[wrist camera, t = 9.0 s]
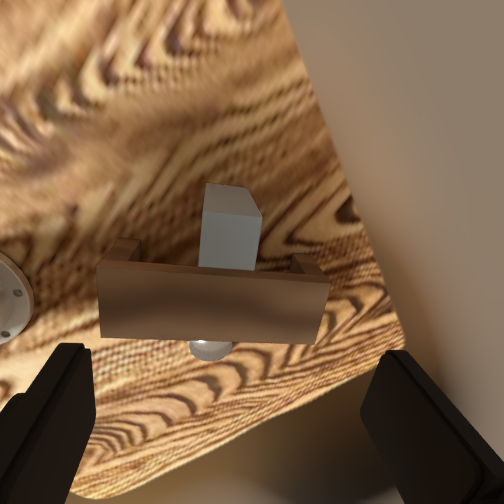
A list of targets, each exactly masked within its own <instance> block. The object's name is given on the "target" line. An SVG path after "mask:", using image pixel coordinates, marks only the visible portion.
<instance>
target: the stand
mask: <svg viewBox="0 0 504 504" xmlns="http://www.w3.org/2000/svg"><path fill="white" fill-rule="evenodd" d="M140 258H141V240H137V239H125V238H119V239H118V241H117V242H116V243H115V244H114V246H113V247H112V248H111V249H110V251H109V252H108V253H107V254H106V256H105V257H104V258H103V259H102V260H101V262H100V263H99V264H98V265H97V267H96V274H97V289H98V304H99V318H100V333H101V338H124V339H155V340H186V341H217V342H248V343H279V344H310V345H314V344H315V341H316V337H317V334H318V330H319V327H320V323H321V320H322V316H323V313H324V309H325V306H326V302H327V299H328V295H329V292H330V288H331V284H332V283H331V282H330V281H329V279H328V278H327V277H326V275H325V274H324V273H323V271H322V270H321V269H320V267H319V266H318V264H317V263H316V262H315V260H314V259H313V258H312V256H311V255H310V254H298V253H293V255H292V259H291V264H290V271H291V273H280V272H266V271H253V270H240V269H226V268H213V267H199V266H186V265H173V264H159V263H146V262H139V260H140Z"/></svg>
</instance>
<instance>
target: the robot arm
mask: <svg viewBox="0 0 504 504" xmlns="http://www.w3.org/2000/svg"><path fill="white" fill-rule="evenodd" d="M33 311H34V296H33V291H32V288H31V286H30V284H29V282H28V280H27V278H26V277H25V275H24V274H23V273H22V271H21V270H20V269H19V268H18V267H17V266H16V265H15V264H14V263H13V262H12V261H11V260H10V259H9V258H7V257H6V256H5V255H3V254H2V253H1V252H0V344H3V343H5V342H7V341H9V340H11V339H13V338H14V337H15V336H17V335H18V334H19V333H20V332H21V331H22V330H23V329H24V328H25V327H26V325H27V324H28V322H29V321H30V319H31V317H32V314H33ZM360 416H361V419H362V422H363V423H364V426H365V427H366V429H367V431H368V433H369V435H370V437H371V439H372V441H373V443H374V445H375V447H376V449H377V451H378V452H379V455H380V456H381V458H382V460H383V462H384V464H385V466H386V468H387V470H388V472H389V474H390V476H391V478H392V480H393V482H394V484H395V486H396V488H397V490H398V492H399V493H400V495H401V497H402V499H403V501H404V503H405V504H504V462H503V461H502V460H501V458H500V457H499V456H498V455H497V454H496V453H495V451H494V450H493V449H492V448H491V447H490V446H489V445H488V443H487V442H486V441H485V440H484V439H483V438H482V436H481V435H480V434H479V433H478V432H477V431H476V430H475V429H474V427H473V426H472V425H471V424H470V423H469V422H468V421H467V419H466V418H465V417H464V416H463V415H462V414H461V412H460V411H459V410H458V409H457V408H456V407H455V406H454V405H453V404H452V402H451V401H450V400H449V399H448V398H447V396H446V395H445V394H444V393H443V392H442V391H441V389H440V388H439V387H438V386H437V385H436V384H435V383H434V381H433V380H432V379H431V378H430V377H429V376H428V375H427V373H426V372H425V371H424V370H423V369H422V368H421V367H420V365H419V364H418V363H417V362H416V361H415V360H414V359H413V357H412V356H411V355H410V354H409V353H408V352H407V351H405V350H387V351H386V352H385V354H383V355H382V356H381V358H380V361H379V363H378V366H377V368H376V371H375V373H374V376H373V378H372V381H371V383H370V386H369V388H368V391H367V393H366V396H365V399H364V401H363V404H362V406H361V409H360ZM95 419H96V407H95V395H94V383H93V371H92V359H91V350H90V349H85V347H84V344H83V343H60V344H59V345H58V346H57V347H56V348H55V350H54V351H53V353H52V354H51V356H50V357H49V359H48V360H47V362H46V363H45V365H44V366H43V368H42V369H41V370H40V372H39V373H38V375H37V376H36V378H35V379H34V381H33V382H32V384H31V385H30V387H29V388H28V390H27V391H26V392H25V393H17V394H16V395H14V396H13V397H12V398H11V399H10V400H9V401H8V402H7V404H6V405H5V407H4V408H3V409H2V411H1V412H0V504H64V503H65V501H66V498H67V496H68V493H69V490H70V488H71V485H72V482H73V480H74V477H75V475H76V472H77V469H78V467H79V464H80V461H81V459H82V456H83V453H84V451H85V448H86V446H87V443H88V440H89V438H90V435H91V432H92V430H93V427H94V424H95Z"/></svg>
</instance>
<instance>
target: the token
mask: <svg viewBox="0 0 504 504" xmlns="http://www.w3.org/2000/svg"><path fill="white" fill-rule="evenodd" d="M189 347H190V351H191V353H192V354H193V355H194V356H195V357H196V358H198V359H200V360H203V361H217V360H220V359H222V358H224V357H225V356H226V355H228V353H229V352H230V351H231V348H232V342H217V341H190V344H189Z"/></svg>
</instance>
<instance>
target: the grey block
mask: <svg viewBox="0 0 504 504" xmlns="http://www.w3.org/2000/svg"><path fill="white" fill-rule="evenodd" d="M262 220H263V217H262V215H261V213H260V211H259V209H258V207H257V206H256V204H255V202H254V200H253V198H252V196H251V194H250V192H249V190H248V188H247V187H238V186H230V185H222V184H214V183H206V186H205V195H204V204H203V214H202V226H201V238H200V251H199V263H198V266H199V267H213V268H226V269H240V270H253V271H254V269H255V263H256V257H257V251H258V245H259V238H260V232H261V226H262Z"/></svg>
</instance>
